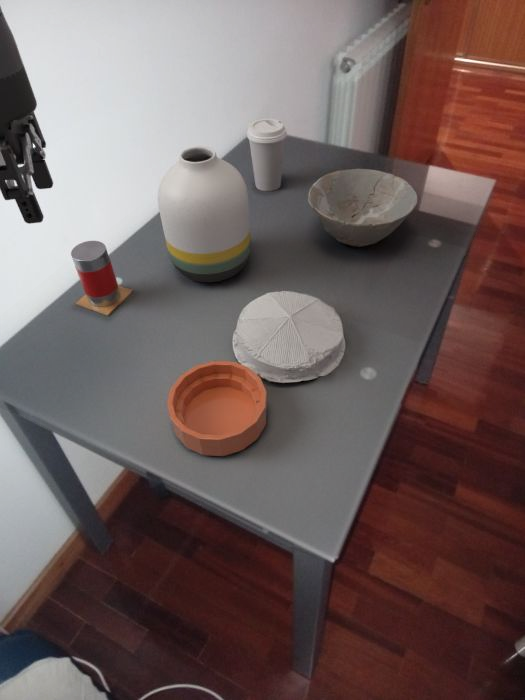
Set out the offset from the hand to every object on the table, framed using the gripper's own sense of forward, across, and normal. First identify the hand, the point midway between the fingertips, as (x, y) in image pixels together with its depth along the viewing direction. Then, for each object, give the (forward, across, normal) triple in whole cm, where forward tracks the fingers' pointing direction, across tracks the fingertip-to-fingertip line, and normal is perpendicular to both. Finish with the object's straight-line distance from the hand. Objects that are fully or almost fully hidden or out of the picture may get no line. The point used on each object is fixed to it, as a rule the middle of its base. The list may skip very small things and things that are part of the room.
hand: (40, 203), depth 64 cm
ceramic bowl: (+30, -28, +54) cm, 68 cm away
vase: (+30, -23, +21) cm, 44 cm away
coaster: (+30, -16, -1) cm, 34 cm away
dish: (+30, +16, +19) cm, 39 cm away
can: (+30, -16, -1) cm, 34 cm away
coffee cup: (+30, -54, +38) cm, 73 cm away
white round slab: (+30, +2, +33) cm, 45 cm away
